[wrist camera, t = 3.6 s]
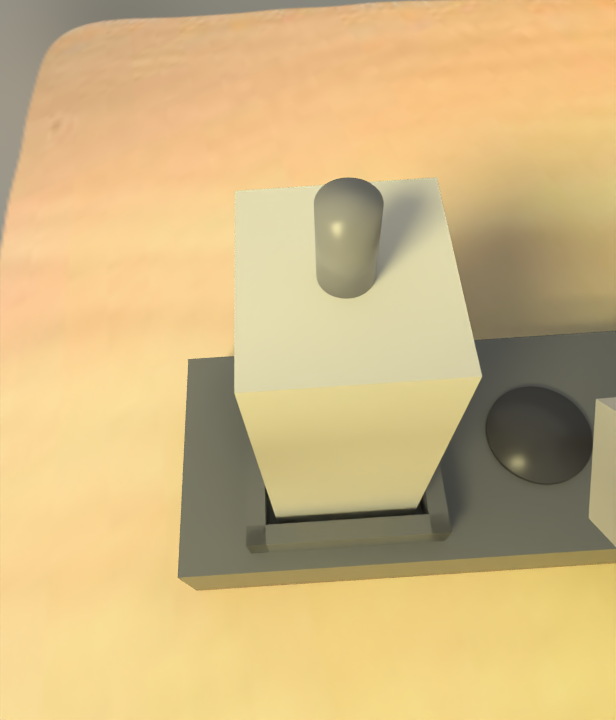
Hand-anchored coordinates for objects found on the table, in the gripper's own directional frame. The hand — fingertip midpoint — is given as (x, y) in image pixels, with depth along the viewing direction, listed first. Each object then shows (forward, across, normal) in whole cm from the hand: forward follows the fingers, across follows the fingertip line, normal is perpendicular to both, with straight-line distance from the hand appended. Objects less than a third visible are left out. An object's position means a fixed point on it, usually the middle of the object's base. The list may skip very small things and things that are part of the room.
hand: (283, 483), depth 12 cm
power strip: (+10, +8, -5) cm, 14 cm away
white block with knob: (+8, +2, -3) cm, 9 cm away
